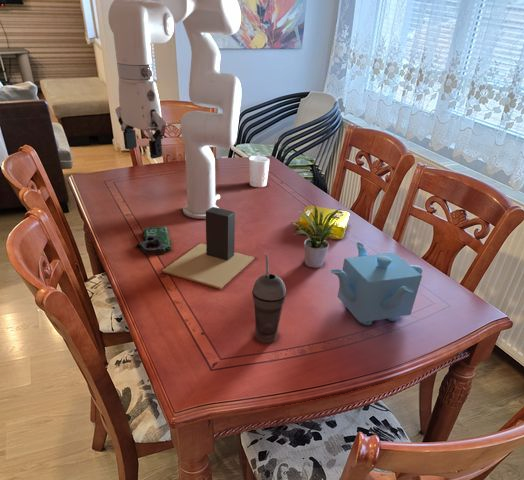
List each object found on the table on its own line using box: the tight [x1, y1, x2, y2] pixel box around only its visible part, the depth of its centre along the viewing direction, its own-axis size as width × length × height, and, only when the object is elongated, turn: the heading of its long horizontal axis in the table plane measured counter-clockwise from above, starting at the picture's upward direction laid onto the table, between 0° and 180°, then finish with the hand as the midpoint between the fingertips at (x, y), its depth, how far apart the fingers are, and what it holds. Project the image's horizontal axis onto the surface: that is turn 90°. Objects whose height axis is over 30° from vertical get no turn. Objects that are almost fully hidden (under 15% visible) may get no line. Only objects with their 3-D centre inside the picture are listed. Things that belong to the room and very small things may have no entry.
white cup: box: [248, 155, 270, 188], centre depth 184 cm, size 8×8×10 cm
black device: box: [205, 207, 236, 261], centre depth 131 cm, size 4×7×13 cm, turn 65°
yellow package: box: [297, 205, 350, 241], centre depth 154 cm, size 15×15×5 cm
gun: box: [135, 225, 172, 255], centre depth 140 cm, size 16×1×10 cm
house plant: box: [290, 204, 342, 269], centre depth 131 cm, size 14×14×16 cm
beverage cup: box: [251, 253, 287, 344], centre depth 99 cm, size 7×7×20 cm
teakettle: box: [329, 242, 423, 326], centre depth 112 cm, size 19×19×15 cm
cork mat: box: [162, 242, 255, 290], centre depth 131 cm, size 20×18×1 cm
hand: (143, 152), depth 114 cm, fingers open, 9 cm apart
